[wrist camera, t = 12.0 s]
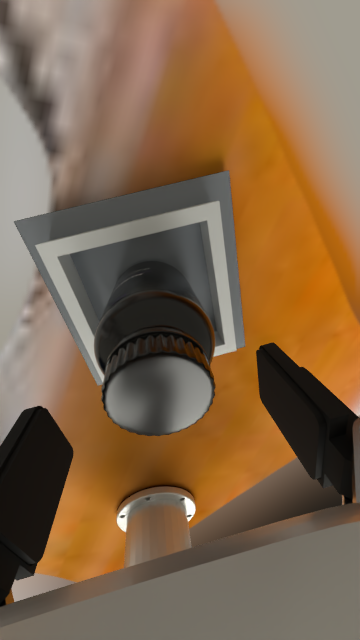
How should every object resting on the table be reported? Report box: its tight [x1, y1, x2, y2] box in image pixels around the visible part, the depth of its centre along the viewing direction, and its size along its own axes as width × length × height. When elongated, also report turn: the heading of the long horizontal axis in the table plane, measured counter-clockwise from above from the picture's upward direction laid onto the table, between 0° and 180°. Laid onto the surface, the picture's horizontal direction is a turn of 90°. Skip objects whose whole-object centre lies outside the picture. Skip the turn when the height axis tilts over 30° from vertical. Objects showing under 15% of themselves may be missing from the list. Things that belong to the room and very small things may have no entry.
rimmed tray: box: [14, 170, 245, 385], centre depth 19 cm, size 16×16×4 cm
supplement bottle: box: [94, 261, 215, 436], centre depth 15 cm, size 7×7×12 cm
